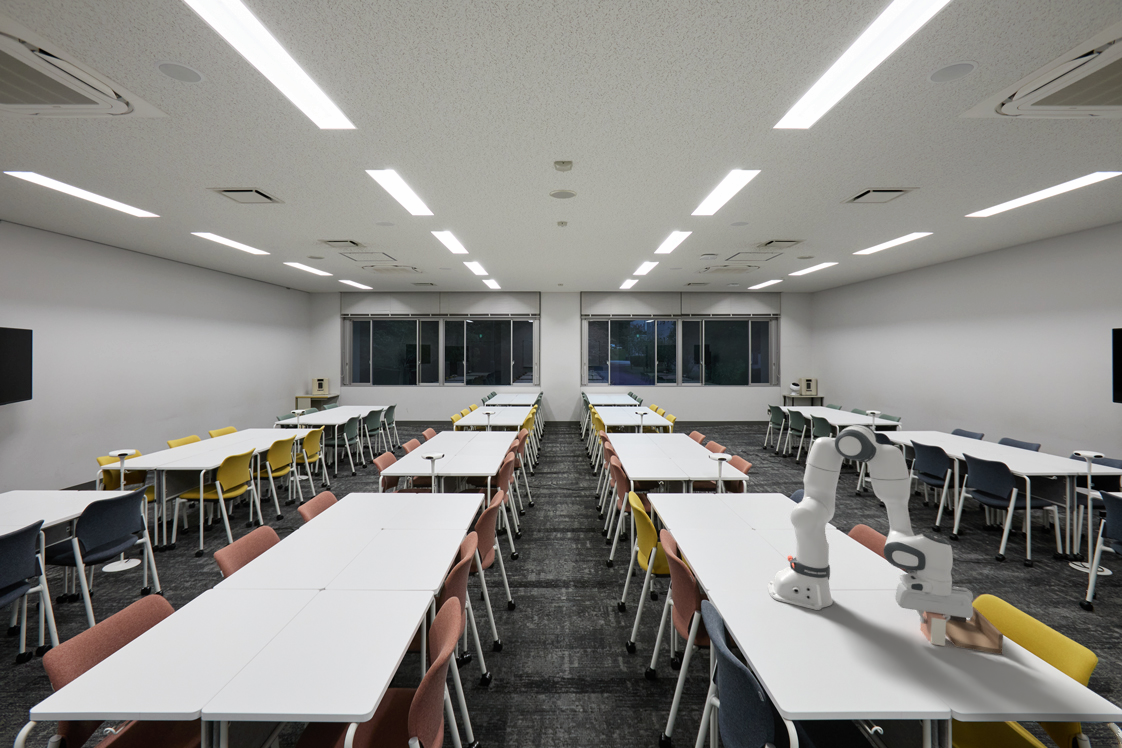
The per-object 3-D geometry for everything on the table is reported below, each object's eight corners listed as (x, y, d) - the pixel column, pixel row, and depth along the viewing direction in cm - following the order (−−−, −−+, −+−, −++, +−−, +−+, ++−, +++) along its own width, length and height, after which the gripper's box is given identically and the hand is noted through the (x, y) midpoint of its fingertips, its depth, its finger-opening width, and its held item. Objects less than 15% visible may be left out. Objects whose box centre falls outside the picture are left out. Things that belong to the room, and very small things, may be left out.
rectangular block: (931, 644, 144) (932, 617, 143) (920, 629, 151) (921, 604, 151) (945, 646, 143) (946, 619, 142) (932, 631, 150) (933, 605, 150)
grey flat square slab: (938, 618, 155) (938, 596, 155) (936, 616, 156) (937, 594, 156) (966, 622, 153) (966, 600, 153) (964, 620, 154) (965, 598, 153)
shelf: (955, 646, 143) (956, 627, 142) (931, 618, 158) (932, 600, 157) (1002, 654, 139) (1003, 634, 138) (973, 625, 154) (974, 606, 154)
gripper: (967, 584, 146) (965, 624, 147) (894, 574, 152) (893, 613, 153) (978, 594, 140) (976, 636, 141) (901, 583, 146) (900, 623, 147)
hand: (932, 624), depth 147 cm, fingers closed on rectangular block, 3 cm apart
